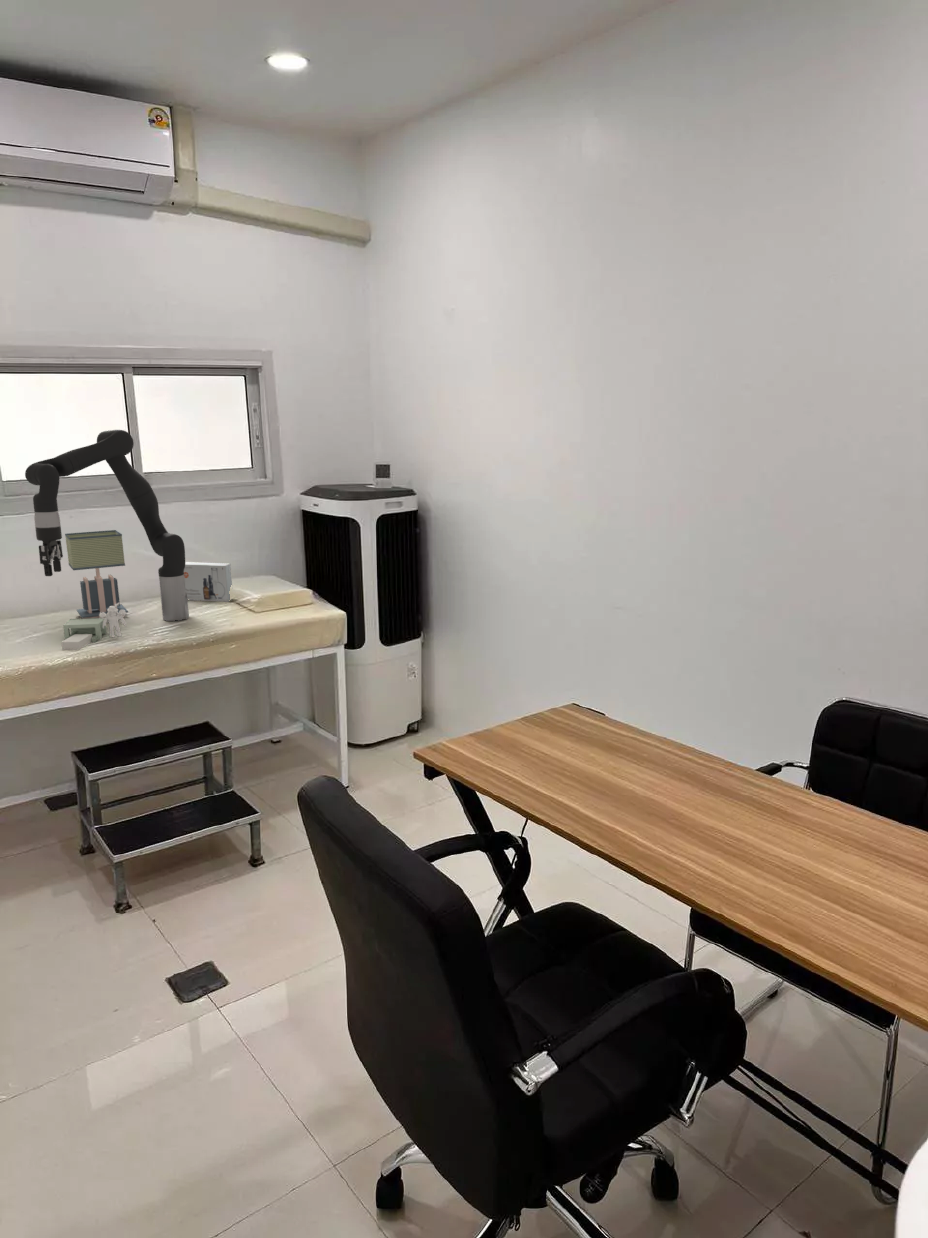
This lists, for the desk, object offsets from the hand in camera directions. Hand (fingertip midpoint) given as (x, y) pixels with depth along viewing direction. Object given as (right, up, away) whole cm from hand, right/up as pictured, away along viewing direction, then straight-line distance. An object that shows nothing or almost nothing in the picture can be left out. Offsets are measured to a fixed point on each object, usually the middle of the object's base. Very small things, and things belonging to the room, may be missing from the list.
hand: (53, 573), depth 275 cm
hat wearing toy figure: (+12, -21, +21) cm, 32 cm away
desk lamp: (-5, -14, +49) cm, 52 cm away
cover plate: (+4, -25, +9) cm, 27 cm away
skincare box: (+28, -7, +77) cm, 82 cm away
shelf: (+2, -22, +18) cm, 28 cm away
